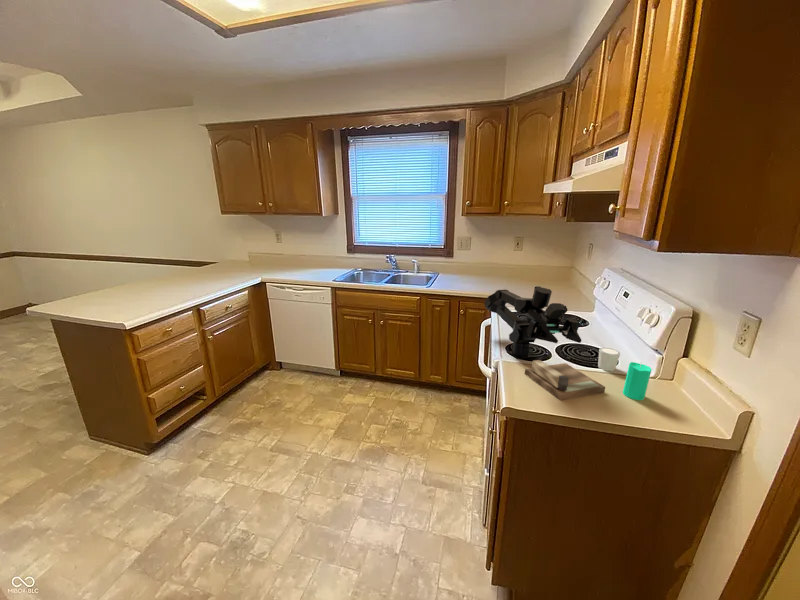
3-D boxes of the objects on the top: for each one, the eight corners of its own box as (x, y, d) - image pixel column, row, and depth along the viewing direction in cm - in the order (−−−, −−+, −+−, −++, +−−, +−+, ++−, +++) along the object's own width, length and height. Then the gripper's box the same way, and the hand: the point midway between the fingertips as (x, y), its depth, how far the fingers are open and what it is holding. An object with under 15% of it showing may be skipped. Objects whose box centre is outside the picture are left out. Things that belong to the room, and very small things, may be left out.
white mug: (619, 372, 129) (623, 355, 128) (599, 370, 131) (603, 353, 129) (612, 364, 136) (616, 348, 134) (593, 362, 137) (596, 346, 135)
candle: (618, 392, 116) (626, 359, 113) (630, 389, 118) (638, 356, 115) (636, 401, 111) (644, 367, 107) (648, 398, 113) (657, 364, 110)
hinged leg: (569, 389, 112) (570, 379, 111) (561, 390, 111) (563, 380, 110) (538, 368, 126) (539, 359, 125) (531, 369, 125) (532, 360, 124)
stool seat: (524, 373, 127) (525, 368, 126) (564, 367, 132) (565, 362, 132) (560, 400, 110) (561, 394, 110) (604, 392, 116) (605, 386, 115)
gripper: (525, 298, 122) (553, 320, 108) (570, 299, 127) (601, 320, 113) (516, 325, 126) (541, 350, 113) (559, 325, 131) (588, 349, 118)
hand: (569, 341), depth 114 cm, fingers open, 9 cm apart
